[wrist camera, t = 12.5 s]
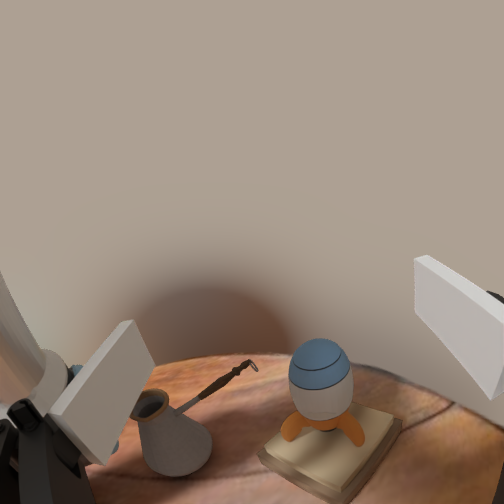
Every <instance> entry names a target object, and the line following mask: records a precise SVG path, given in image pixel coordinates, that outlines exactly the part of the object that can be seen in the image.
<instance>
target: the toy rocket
mask: <svg viewBox="0 0 504 504" xmlns="http://www.w3.org/2000/svg"><path fill="white" fill-rule="evenodd" d="M289 387H290V392H291V396H292V399H293V402H294V404H295V406H296V408H297V411H295V412H294V413H292V414H291V415H290V416H288V417H287V418H286V419H285V421H284V422H283V424H282V426H281V435H282V437H283V439H284V440H286V441H287V442H291V441H292V440H293V439H294V438H295V437H296V436H297V435H298V434H299V433H300V432H301V431H302V428H303V427H310V426H312V427H313V428H315V429H317V430H320V431H322V432H330V431H333V430H334V429H336V428H338V429H342V430H343V432H344V433H345V435H346V436H347V437H348V438H349V439H350V440H351V441H352V442H353V443H354V444H355V445H356V446H357V447H360V446H362V445H363V444H364V442H365V434H364V431H363V429H362V427H361V425H360V424H359V422H358V421H357V420H356V419H355V418H354V416H352V415H351V414H350V413H349V412H348V410H349V407H350V404H351V401H352V397H353V389H354V381H353V373H352V368H351V365H350V362H349V360H348V358H347V356H346V354H345V352H344V351H343V350H342V349H341V348H340V347H339V346H338V345H337V344H336V343H335V342H333V341H331V340H328V339H313V340H310V341H307V342H305V343H304V344H302V345H301V346H300V347H299V348H298V349H297V350H296V351H295V352H294V354H293V357H292V359H291V362H290V366H289Z"/></svg>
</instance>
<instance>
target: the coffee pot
mask: <svg viewBox="0 0 504 504" xmlns="http://www.w3.org/2000/svg"><path fill="white" fill-rule="evenodd" d="M251 363H252V364H253V365H254V366H255V368H256V369H257V370H256V369H255V368H254V367H253V366H252V364H251ZM249 365H251V367H252V368H253V369H254V370H255V371H256V372H258V368H257V367H256V365H255V364H254V363H253V362H252V361H251V360H250V359H248V360H247V361H244V362H242V363H241V365H240V366H238V367H234V368H233V369H232V371H231V372H229V373H228V374H226V375H224V376H222V377H220V378H218V379H217V380H216V381H215V382H213V383H212V384H211V385H210V386H208V387H207V388H206V389H205V390H203V391H202V392H201V393H200V394H198V396H196V397H195V398H193V399H192V400H190V401H188V402H187V403H185V404H184V405H182V406H181V407H179V408H177V409H174V408H172V407H171V406H169V405H168V404H169V396H168V394H167V393H166V392H165V391H163V390H161V389H148V390H145V391H142V392H141V394H140V396H139V398H138V400H137V402H136V404H135V406H134V408H133V410H132V412H131V414H130V416H129V417H130V418H131V419H133V420H135V421H138V427H139V434H140V440H141V446H142V451H143V456H144V459H145V461H146V463H147V465H148V466H149V467H150V468H151V469H152V470H153V471H155V472H157V473H160V474H162V475H166V476H172V477H176V476H184V475H187V474H191V473H193V472H194V471H196V470H198V469H199V468H201V467H202V466H203V465H204V464H205V463H206V462H207V460H208V459H209V457H210V454H211V451H212V437H211V435H210V432H209V431H208V430H207V429H206V428H205V427H204V426H203V425H201V424H199V423H198V422H196V421H194V420H192V419H191V418H189V417H187V416H186V415H184V414H182V413H183V412H185V411H186V410H188V409H189V408H190V407H192V406H193V405H195V404H196V403H197V402H199V401H200V400H203V399H204V398H206V397H208V396H209V395H211V394H212V393H214V392H216V391H217V390H219V389H220V388H222V387H224V386H225V385H226V384H227V383H228V382H229V381H230V380H231V379H232V378H233V377H234V376H235V375H236V376H238V375H240V372H241V371H242V370H243V369H246V368H247V367H248V366H249Z"/></svg>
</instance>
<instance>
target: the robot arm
mask: <svg viewBox="0 0 504 504" xmlns="http://www.w3.org/2000/svg"><path fill="white" fill-rule="evenodd" d="M414 274H415V313H416V314H417V315H418V316H419V317H420V318H421V319H422V320H423V321H424V322H425V324H426V325H427V326H428V327H429V328H430V329H431V330H432V331H433V332H434V333H435V335H436V336H437V337H438V338H439V339H440V340H441V341H442V342H443V344H444V345H445V346H446V347H447V348H448V349H449V350H450V352H451V353H452V354H453V355H454V356H455V357H456V359H457V360H458V361H459V362H460V363H461V364H462V365H463V367H464V368H465V369H466V370H467V372H468V373H469V374H470V375H471V377H472V378H473V379H474V380H475V382H476V383H477V384H478V385H479V387H480V388H481V389H482V390H483V391H484V393H485V394H486V395H487V397H488V398H489V399H490V401H491V400H493V399H494V398H496V397H497V396H499V395H501V394H502V393H503V392H504V298H503V297H502V296H500V295H499V294H496V293H493V292H490V291H486V292H485V291H484V290H482V289H481V288H479V287H478V286H476V285H475V284H473V283H472V282H470V281H469V280H467V279H466V278H464V277H463V276H461V275H460V274H458V273H456V272H455V271H453V270H452V269H450V268H448V267H447V266H445V265H444V264H442V263H440V262H438V261H437V260H435V259H434V258H432V257H430V256H429V255H425V256H421V257H418V258H415V259H414ZM154 367H155V364H154V362H153V360H152V358H151V356H150V354H149V352H148V350H147V347H146V345H145V343H144V341H143V339H142V337H141V335H140V333H139V330H138V328H137V326H136V324H135V321H134V320H128V321H122V322H120V324H119V325H118V326H117V327H116V328H115V330H114V331H113V332H112V333H111V334H110V335H109V336H108V338H107V339H106V340H105V341H104V342H103V343H102V345H101V346H100V347H99V348H98V350H97V351H96V352H95V353H94V354H93V355H92V357H91V358H90V359H89V361H88V362H87V363H86V364H85V365H84V366H82V365H72V366H71V368H68V367H67V366H66V364H65V363H64V361H63V360H62V358H61V357H60V356H59V355H58V354H57V353H55V352H53V351H51V350H47V349H41V348H40V347H39V345H38V343H37V342H36V340H35V339H34V337H33V335H32V334H31V332H30V330H29V329H28V327H27V325H26V323H25V321H24V320H23V318H22V316H21V314H20V312H19V310H18V308H17V306H16V304H15V302H14V300H13V298H12V296H11V294H10V292H9V290H8V288H7V286H6V283H5V281H4V279H3V277H2V274H1V272H0V504H96V503H95V500H94V497H93V494H92V491H91V488H90V484H89V481H88V478H87V474H86V471H85V466H88V465H91V464H99V465H103V466H106V464H107V462H108V459H109V457H110V455H112V454H114V453H115V452H116V451H117V450H118V447H119V441H118V438H119V436H120V434H121V432H122V430H123V428H124V426H125V424H126V422H127V420H128V418H129V416H130V414H131V412H132V410H133V408H134V406H135V404H136V402H137V400H138V398H139V396H140V394H141V392H142V390H143V388H144V386H145V384H146V382H147V380H148V378H149V377H150V375H151V373H152V371H153V369H154ZM492 504H504V463H503V467H502V471H501V475H500V479H499V483H498V486H497V490H496V493H495V496H494V499H493V502H492Z"/></svg>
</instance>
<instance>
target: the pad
mask: <svg viewBox="0 0 504 504" xmlns="http://www.w3.org/2000/svg"><path fill="white" fill-rule="evenodd" d="M348 412H349V413H350V414H351V415H352V416H354V418H355V419H356V420H357V421H358V422H359V424H360V425H361V427H362V429H363V431H364V434H365V442H364V444H363V445H362V446H360V447H357V446H356V445H355V444H354V443H353V442H352V441H351V440H350V439H349V438H348V437H347V436H346V435H345V433H344V432H343V430H342V429H338V428H336V429H334V430H333V431H330V432H322V431H320V430H317V429H315V428H313V427H312V426H310V427H303V428H302V431H301V432H300V433H299V434H298V435H297V436H296V437H295V438H294V439H293V440H292V441H291V442H287V441H286V440H284V439H283V437H282V435H281V431H279V432H278V433H277V434H276V435H275V436H274V437H273V438H272V439H270V440H269V441H268V442H267V443H266V444H265V445H264V446H265V447H264V448H263V449H262V450H261V451H259V452H258V453H257V455H258V457H259V459H260V461H261V463H262V464H263V465H265V466H266V467H268V468H269V469H271V470H272V471H274V472H275V473H277V474H278V475H280V476H282V477H283V478H285V479H286V480H288V481H290V482H291V483H293V484H295V485H296V486H298V487H300V488H302V489H303V490H305V491H307V492H309V493H311V494H312V495H314V496H316V497H318V498H320V499H322V500H324V501H326V502H328V503H330V504H349V502H350V501H351V500H352V499H353V498H354V497H355V495H356V494H357V493H358V492H359V490H360V489H361V488H362V487H363V485H364V484H365V483H366V482H367V480H368V479H369V478H370V476H371V475H372V474H373V472H374V471H375V470H376V468H377V467H378V466H379V464H380V463H381V461H382V460H383V458H384V457H385V456H386V454H387V453H388V451H389V450H390V448H391V447H392V445H393V443H394V442H395V440H396V439H397V437H398V435H399V434H400V432H401V427H402V421H403V420H400V419H397V418H394V415H392V414H389V413H386V412H382V411H379V410H376V409H372V408H369V407H366V406H363V405H360V404H357V403H354V402H351V404H350V407H349V410H348Z"/></svg>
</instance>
